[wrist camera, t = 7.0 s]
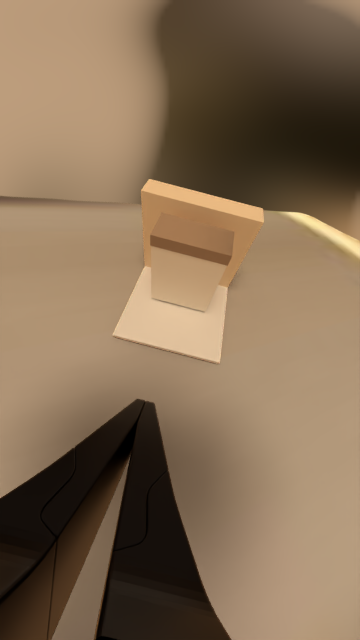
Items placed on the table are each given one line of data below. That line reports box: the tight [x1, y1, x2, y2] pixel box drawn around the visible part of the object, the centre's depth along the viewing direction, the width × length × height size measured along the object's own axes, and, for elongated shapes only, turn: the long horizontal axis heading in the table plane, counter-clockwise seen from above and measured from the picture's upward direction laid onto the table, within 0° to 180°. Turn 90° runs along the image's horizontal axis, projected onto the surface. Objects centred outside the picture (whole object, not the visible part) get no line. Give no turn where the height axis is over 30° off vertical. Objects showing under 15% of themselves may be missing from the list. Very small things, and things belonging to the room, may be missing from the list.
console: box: [113, 179, 264, 364], centre depth 22 cm, size 16×14×12 cm
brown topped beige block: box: [150, 213, 235, 312], centre depth 22 cm, size 4×8×10 cm, turn 77°
